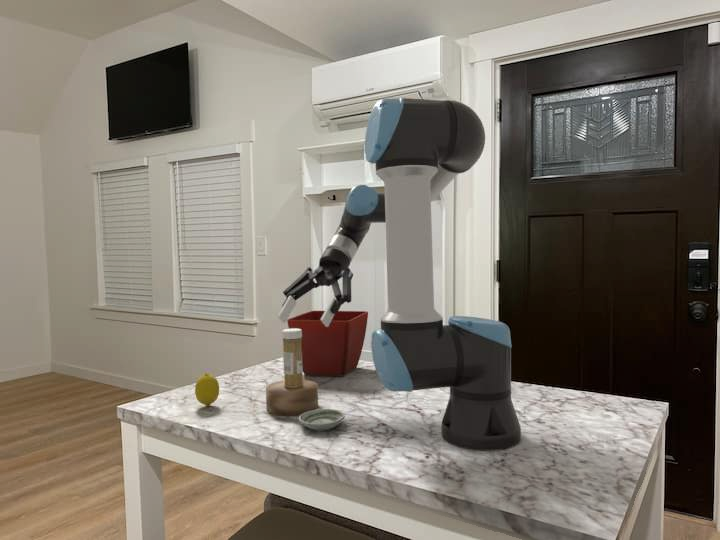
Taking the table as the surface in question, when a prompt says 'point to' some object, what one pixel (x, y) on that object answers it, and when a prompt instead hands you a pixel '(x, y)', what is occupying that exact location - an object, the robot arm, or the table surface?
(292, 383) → the sprinkles bottle
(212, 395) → the lemon
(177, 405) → the table surface
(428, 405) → the table surface
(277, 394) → the walnut pedestal
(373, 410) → the table surface
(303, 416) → the saucer
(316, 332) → the plant pot
